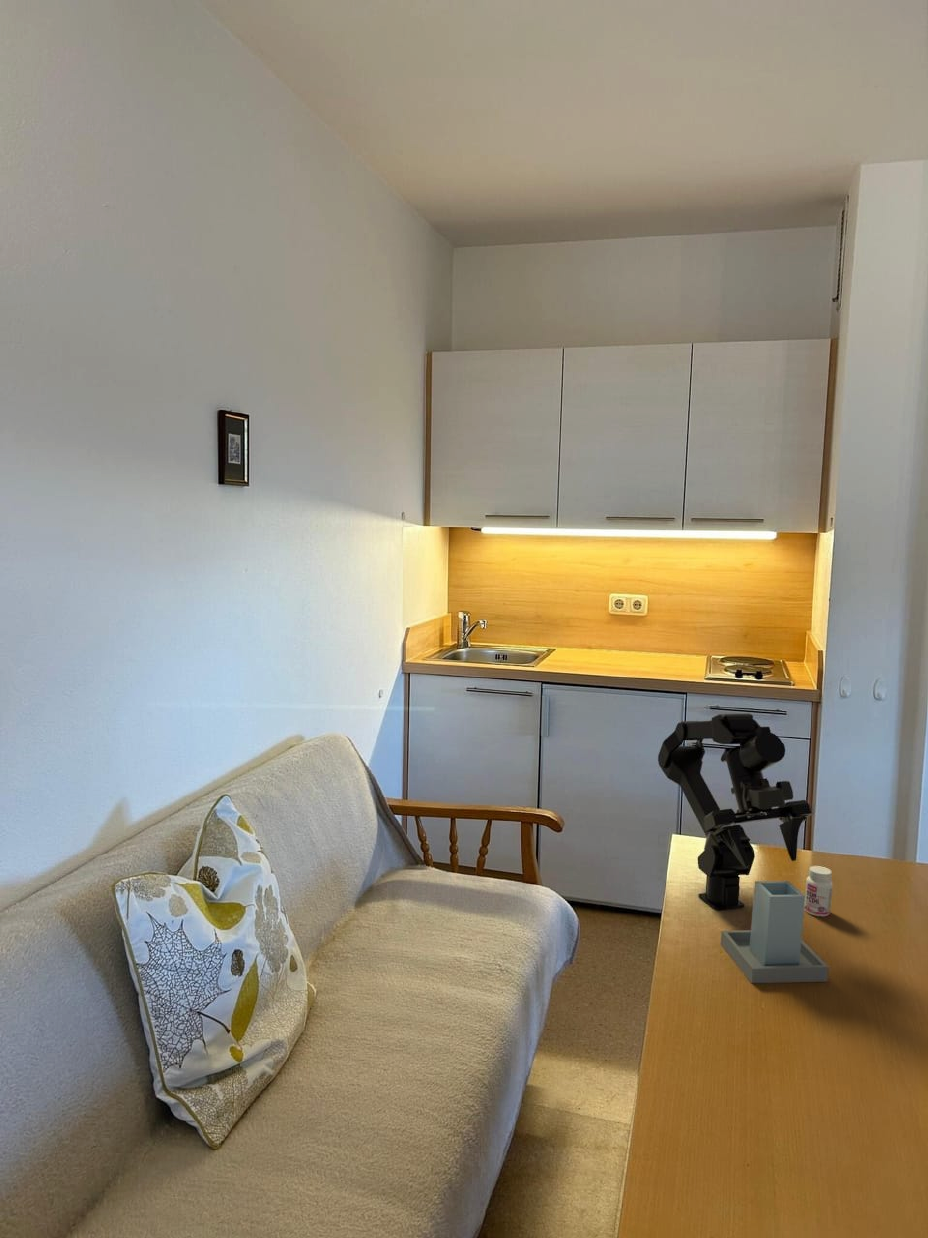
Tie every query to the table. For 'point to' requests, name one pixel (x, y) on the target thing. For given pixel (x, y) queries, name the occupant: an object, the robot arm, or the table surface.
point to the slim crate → (777, 923)
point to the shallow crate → (807, 970)
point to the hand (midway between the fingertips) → (770, 863)
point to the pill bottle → (818, 891)
